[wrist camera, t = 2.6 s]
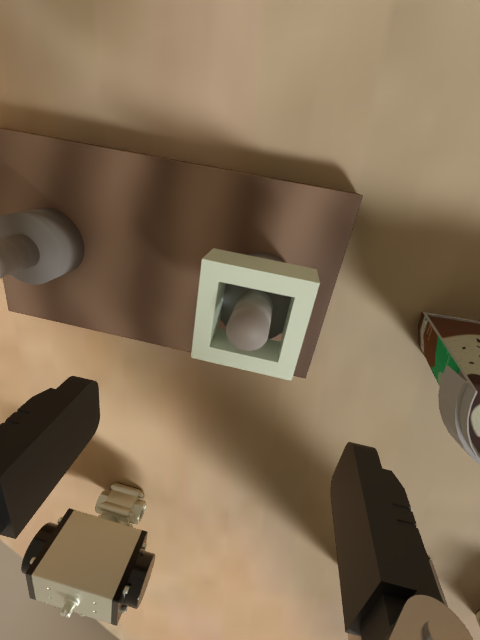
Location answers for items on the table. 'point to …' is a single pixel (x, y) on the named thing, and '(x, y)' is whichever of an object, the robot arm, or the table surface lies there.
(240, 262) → the ring
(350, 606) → the robot arm
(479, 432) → the food container
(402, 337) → the table surface
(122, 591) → the pneumatic valve
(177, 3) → the table surface
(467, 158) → the table surface
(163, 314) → the board
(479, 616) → the stack of blocks
